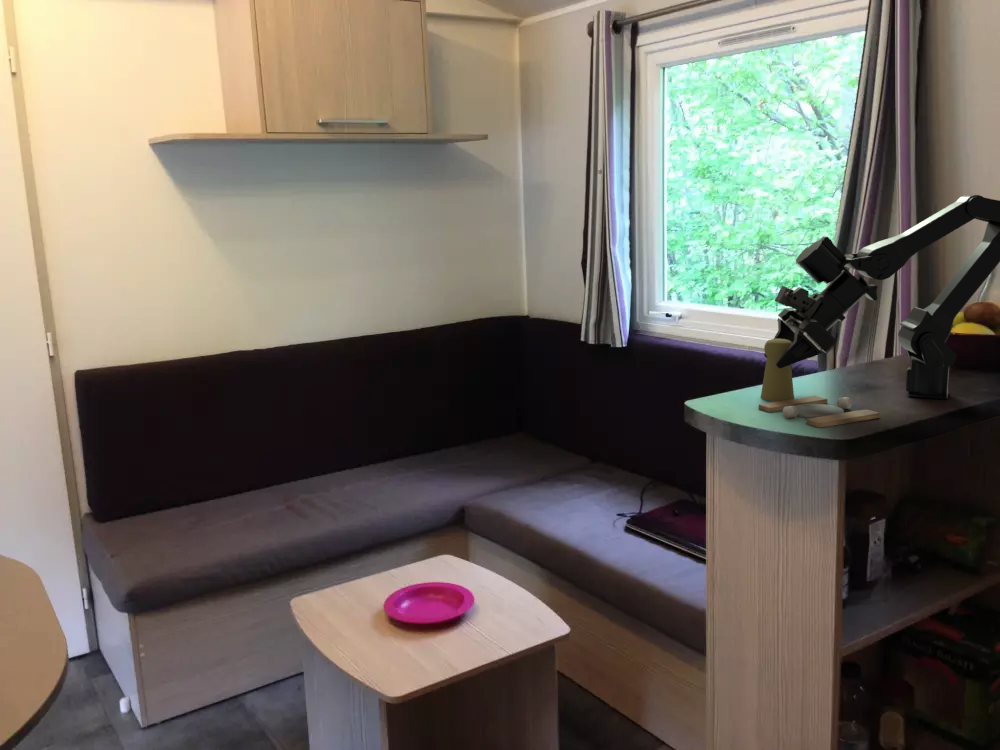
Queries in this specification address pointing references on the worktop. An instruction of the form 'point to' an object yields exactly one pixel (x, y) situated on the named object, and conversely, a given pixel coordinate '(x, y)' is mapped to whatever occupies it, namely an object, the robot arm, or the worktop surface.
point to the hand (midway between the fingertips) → (771, 361)
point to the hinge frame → (819, 411)
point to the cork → (777, 373)
